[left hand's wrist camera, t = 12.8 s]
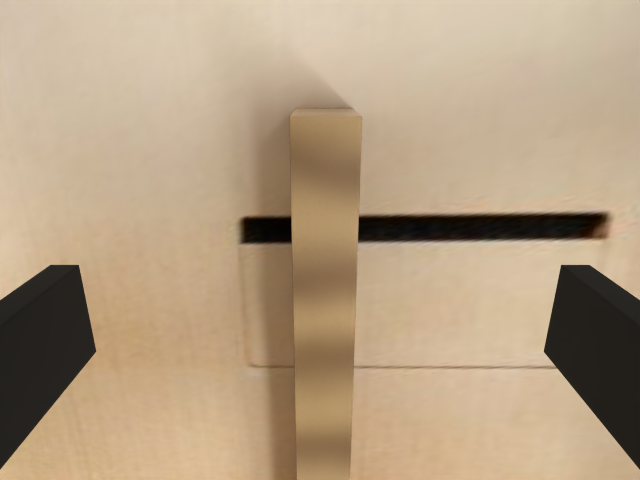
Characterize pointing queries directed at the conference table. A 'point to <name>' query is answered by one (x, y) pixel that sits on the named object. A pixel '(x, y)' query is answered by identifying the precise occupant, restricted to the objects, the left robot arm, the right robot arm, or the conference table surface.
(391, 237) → the conference table surface
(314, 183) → the bar
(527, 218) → the conference table surface
